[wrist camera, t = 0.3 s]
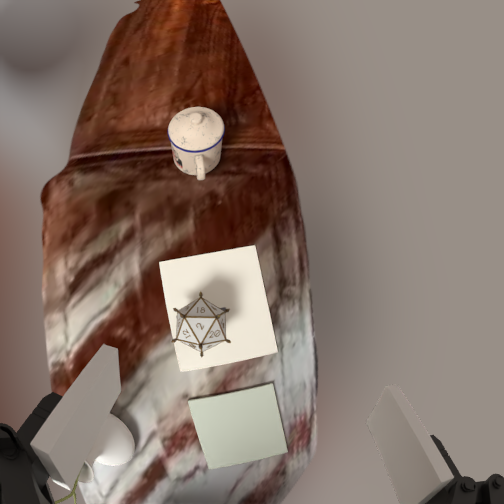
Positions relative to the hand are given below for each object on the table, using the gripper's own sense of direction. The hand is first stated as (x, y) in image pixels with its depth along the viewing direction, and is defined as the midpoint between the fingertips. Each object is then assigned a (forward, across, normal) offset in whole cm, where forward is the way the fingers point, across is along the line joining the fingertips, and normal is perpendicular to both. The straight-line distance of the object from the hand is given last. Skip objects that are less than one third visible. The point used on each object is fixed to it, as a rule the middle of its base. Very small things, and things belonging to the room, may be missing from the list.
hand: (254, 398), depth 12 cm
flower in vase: (+18, +19, +35) cm, 44 cm away
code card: (+31, +3, +11) cm, 33 cm away
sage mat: (+23, -4, +29) cm, 37 cm away
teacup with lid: (+42, +12, -11) cm, 45 cm away
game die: (+30, +5, +14) cm, 33 cm away
